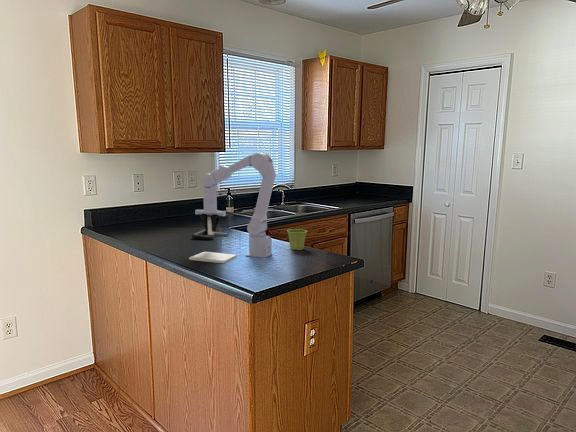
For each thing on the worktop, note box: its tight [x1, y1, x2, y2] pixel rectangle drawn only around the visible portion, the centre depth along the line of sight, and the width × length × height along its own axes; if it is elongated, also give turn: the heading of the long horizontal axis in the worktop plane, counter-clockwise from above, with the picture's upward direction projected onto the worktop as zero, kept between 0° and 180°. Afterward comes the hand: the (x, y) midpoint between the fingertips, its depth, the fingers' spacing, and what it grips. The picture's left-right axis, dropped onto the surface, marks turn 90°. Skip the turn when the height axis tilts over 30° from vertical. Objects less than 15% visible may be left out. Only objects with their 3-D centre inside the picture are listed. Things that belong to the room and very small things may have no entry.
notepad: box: [188, 251, 238, 264], centre depth 180 cm, size 16×12×1 cm
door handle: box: [191, 228, 229, 241], centre depth 225 cm, size 3×20×16 cm
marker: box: [207, 217, 215, 238], centre depth 190 cm, size 3×3×9 cm
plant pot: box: [286, 228, 308, 251], centre depth 198 cm, size 9×9×9 cm
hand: (210, 231), depth 190 cm, fingers closed on marker, 3 cm apart
